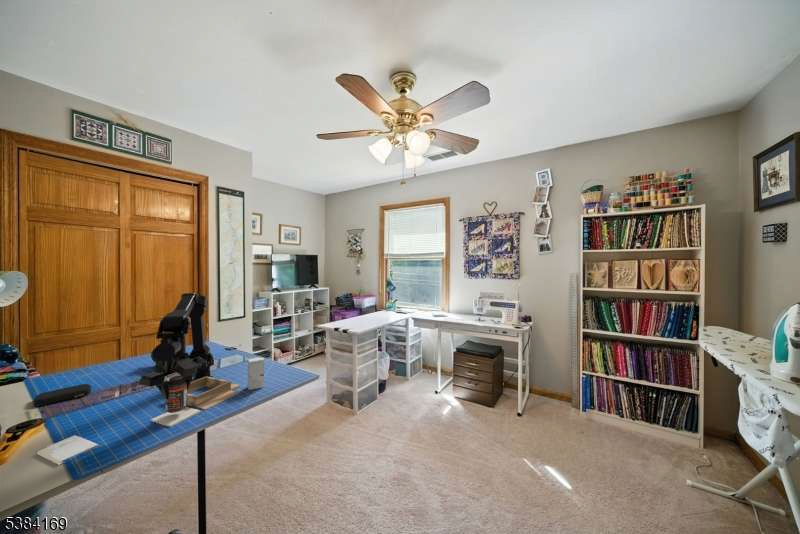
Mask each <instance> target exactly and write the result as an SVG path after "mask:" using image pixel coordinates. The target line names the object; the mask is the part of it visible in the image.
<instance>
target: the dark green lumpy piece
mask: <svg viewBox="0 0 800 534" xmlns="http://www.w3.org/2000/svg"><path fill="white" fill-rule="evenodd" d="M154 349H155V347H154V348H153V349H152V351H151V352H150V357H151V360H152V361H153V362H154V363H155V365H154V369H155V372H157V373H162V372H165V370H163V367H164V366H165V361H159V360H157V359H156V358H155V357H154V356H153V351H154Z"/></svg>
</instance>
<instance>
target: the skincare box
mask: <svg viewBox="0 0 800 534" xmlns="http://www.w3.org/2000/svg"><path fill="white" fill-rule="evenodd" d="M264 380H265V358H264V357H263V356H262V357H254V358H248V359H247V389H248V391H250V390H255V389H261V388H262V389H263V388H264V385H265V381H264Z"/></svg>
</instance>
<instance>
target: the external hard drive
mask: <svg viewBox="0 0 800 534" xmlns="http://www.w3.org/2000/svg"><path fill="white" fill-rule="evenodd" d="M52 445H53V446H52ZM49 446H50V447H49ZM47 447H48V449H50V450H53V451H52V452H54V453H53V454H51V455H52V457H53V458H54V459H56V460H58V461H60V462H61V461H63V460H66V459H68V458H71V457H73V456H75V455H78V454H81V453H85V452H87V451H90V450H92V449H95V448H97V447H99V448H100V445H99V444H97V443H96V442H93V441H91V440H89V439H86V438H83V437H81V436H78V435H72V436H70V437H68V438H65V439H63V440H60V441H58V442H55V443H53V444H50V445H48V446H47ZM97 449H98V448H97ZM95 450H96V449H95ZM92 451H93V450H92ZM90 452H91V451H90Z"/></svg>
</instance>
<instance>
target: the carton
mask: <svg viewBox="0 0 800 534" xmlns="http://www.w3.org/2000/svg"><path fill="white" fill-rule="evenodd" d="M241 386H242V385H241V384H236V383H232V381H231V380H225V379H220V378H216V377H213V378H212V377H207V376H205V377H203V378H200V379H198V380H195V381H191V382H190V385H189V388H188V390H187V406H189V407H192V406H193V407H192V408H196V407H197V409H200V408H201V409H200V410H203V409H204V410H205V411H206V410H209V409H210V407H211V408H213V407H215V406H216V405H219V404H221V403H222V402H225V401H227V400H228V398H229V399H230V398H233V397H235V396H237V395H239V394H240V393H241V392H240V391H236V390H235V389H237V388H240V387H241ZM205 387H207V388H211V389H208V390H206V391H204V392H202V393H200V394H198V395H194V394H191V393H193V391H194V392H196V391H199V390H201V389H203V388H205ZM200 388H201V389H200ZM233 389H234V390H233ZM195 390H196V391H195Z"/></svg>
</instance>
